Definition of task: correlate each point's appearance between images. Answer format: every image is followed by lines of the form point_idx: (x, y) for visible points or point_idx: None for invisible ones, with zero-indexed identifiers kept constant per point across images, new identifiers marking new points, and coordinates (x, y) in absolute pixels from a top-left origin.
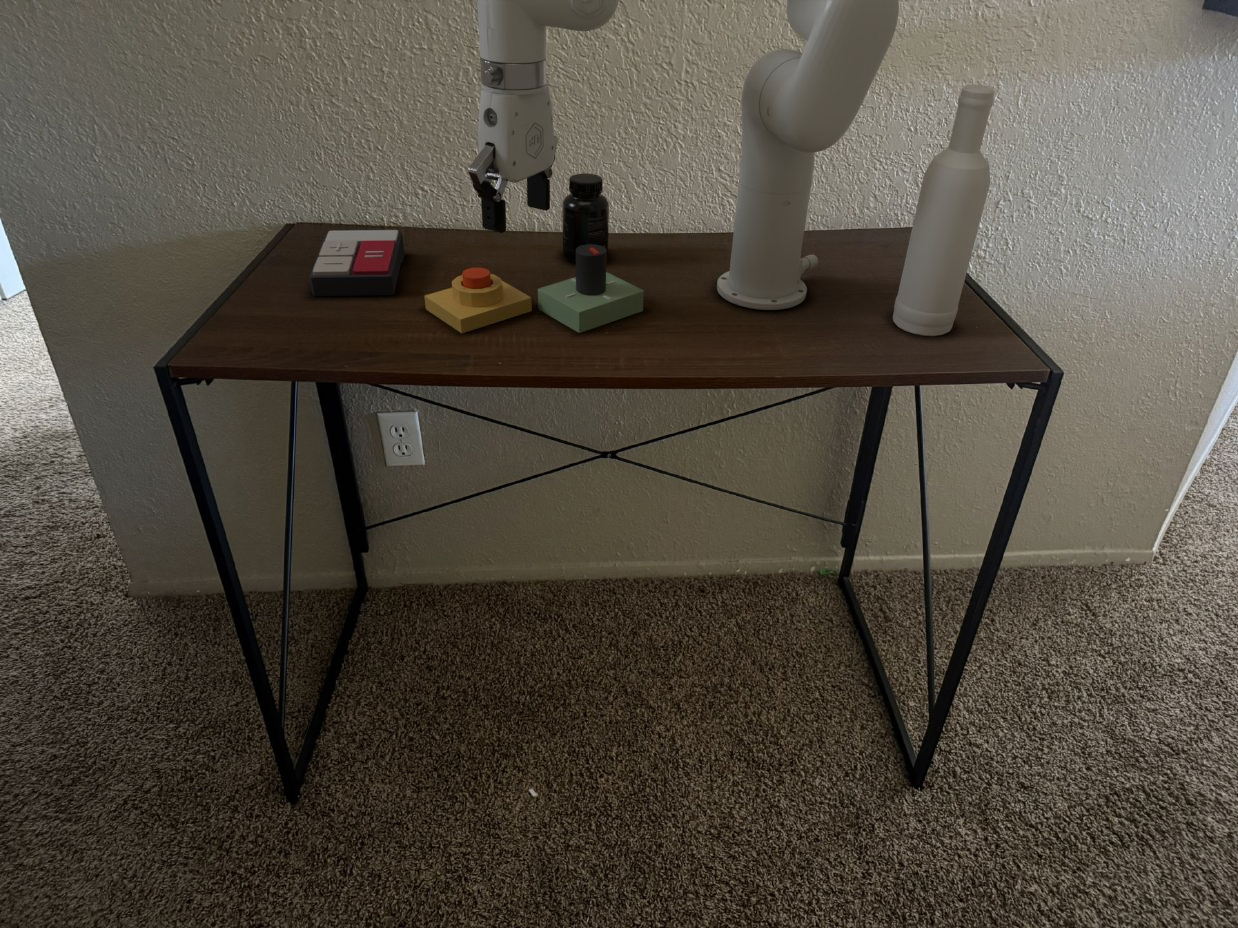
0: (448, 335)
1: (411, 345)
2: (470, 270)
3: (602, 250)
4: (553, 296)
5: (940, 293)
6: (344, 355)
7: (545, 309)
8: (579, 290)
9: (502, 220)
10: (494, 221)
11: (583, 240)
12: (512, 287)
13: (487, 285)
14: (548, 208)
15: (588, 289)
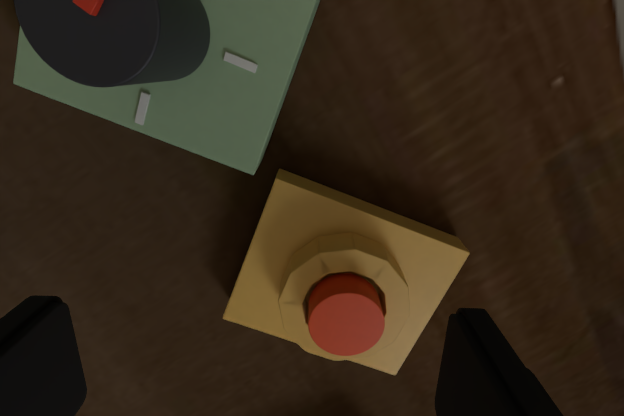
0: (474, 255)
1: (543, 288)
2: (341, 344)
3: None
4: (273, 107)
5: None
6: (621, 358)
7: (271, 133)
8: (205, 47)
9: (510, 356)
10: (536, 382)
11: None
12: (252, 249)
13: (349, 278)
14: (43, 298)
15: (199, 7)
